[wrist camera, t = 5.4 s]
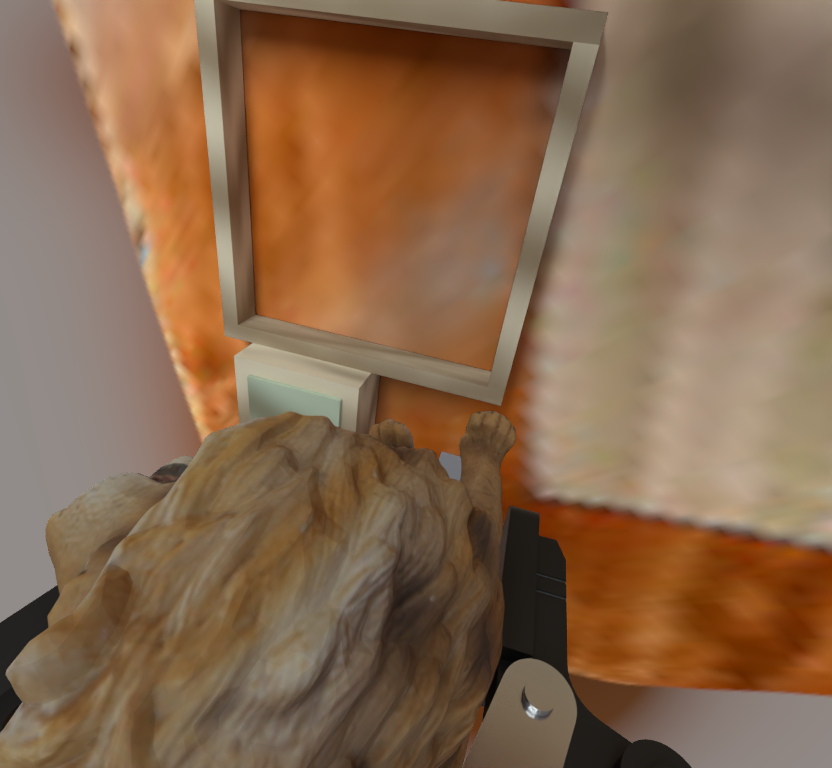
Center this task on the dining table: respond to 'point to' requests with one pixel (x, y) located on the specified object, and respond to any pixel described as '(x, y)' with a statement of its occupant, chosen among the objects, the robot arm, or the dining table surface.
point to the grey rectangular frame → (227, 149)
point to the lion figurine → (272, 606)
